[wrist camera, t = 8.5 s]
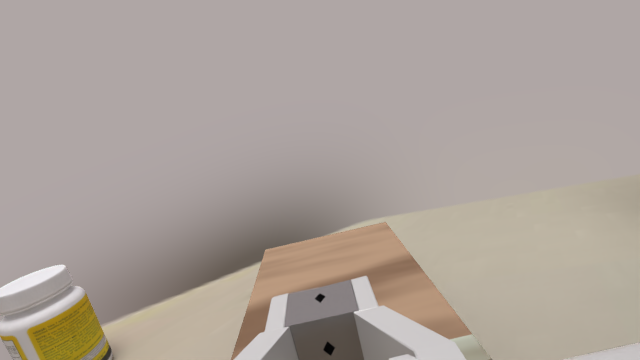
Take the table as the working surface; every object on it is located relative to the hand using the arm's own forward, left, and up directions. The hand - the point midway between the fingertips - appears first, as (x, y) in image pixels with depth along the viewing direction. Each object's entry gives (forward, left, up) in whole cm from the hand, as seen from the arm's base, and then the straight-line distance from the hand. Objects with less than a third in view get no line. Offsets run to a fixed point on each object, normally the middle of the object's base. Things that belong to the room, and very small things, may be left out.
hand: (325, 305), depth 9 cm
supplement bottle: (+14, -19, -9) cm, 25 cm away
